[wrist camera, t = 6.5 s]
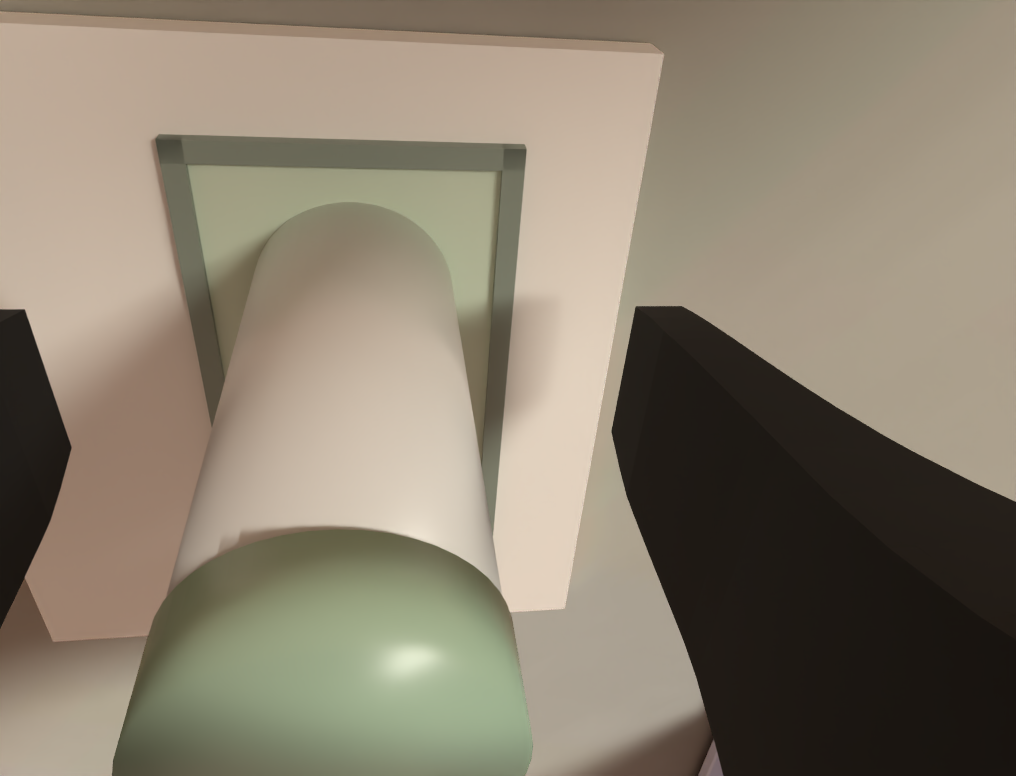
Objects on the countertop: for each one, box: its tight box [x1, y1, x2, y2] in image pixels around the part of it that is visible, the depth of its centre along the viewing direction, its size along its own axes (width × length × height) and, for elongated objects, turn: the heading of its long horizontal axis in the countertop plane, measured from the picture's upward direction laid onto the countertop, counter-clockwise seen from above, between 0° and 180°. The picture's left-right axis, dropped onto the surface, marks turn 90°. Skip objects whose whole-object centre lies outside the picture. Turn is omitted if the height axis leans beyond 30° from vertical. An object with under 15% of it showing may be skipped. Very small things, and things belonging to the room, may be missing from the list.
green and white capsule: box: [112, 202, 533, 776], centre depth 8 cm, size 3×3×7 cm
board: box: [0, 11, 664, 642], centre depth 12 cm, size 11×10×1 cm
